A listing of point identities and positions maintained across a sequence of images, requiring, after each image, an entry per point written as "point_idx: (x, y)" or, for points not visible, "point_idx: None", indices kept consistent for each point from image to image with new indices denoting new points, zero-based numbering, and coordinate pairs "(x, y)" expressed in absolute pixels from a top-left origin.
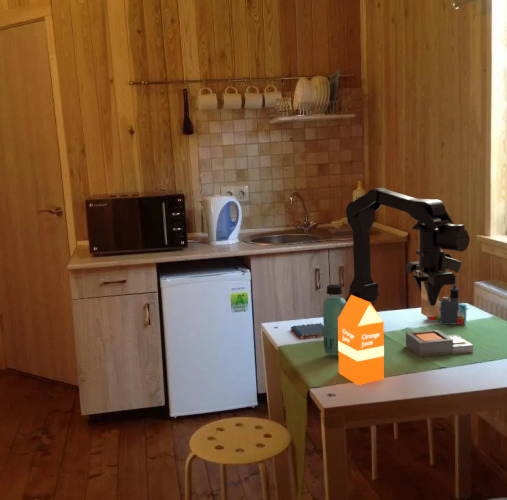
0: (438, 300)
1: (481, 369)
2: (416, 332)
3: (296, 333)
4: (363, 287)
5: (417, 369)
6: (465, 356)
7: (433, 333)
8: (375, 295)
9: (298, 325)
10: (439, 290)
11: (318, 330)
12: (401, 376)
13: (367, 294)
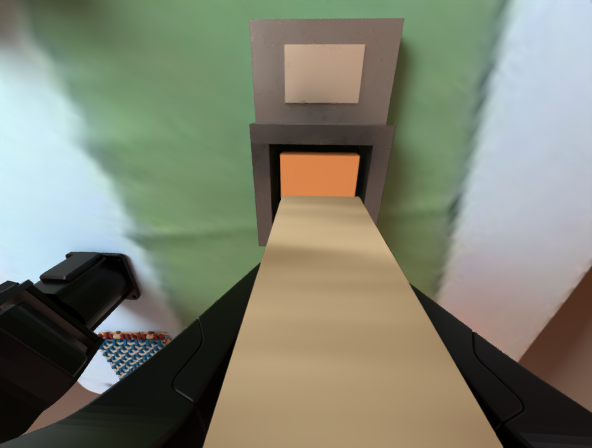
0: (386, 252)
1: (545, 102)
2: (266, 216)
3: None
4: (12, 438)
5: (430, 264)
6: (416, 89)
7: (285, 160)
8: (7, 340)
9: (118, 374)
10: (546, 394)
11: (149, 355)
12: (445, 304)
13: (33, 381)
